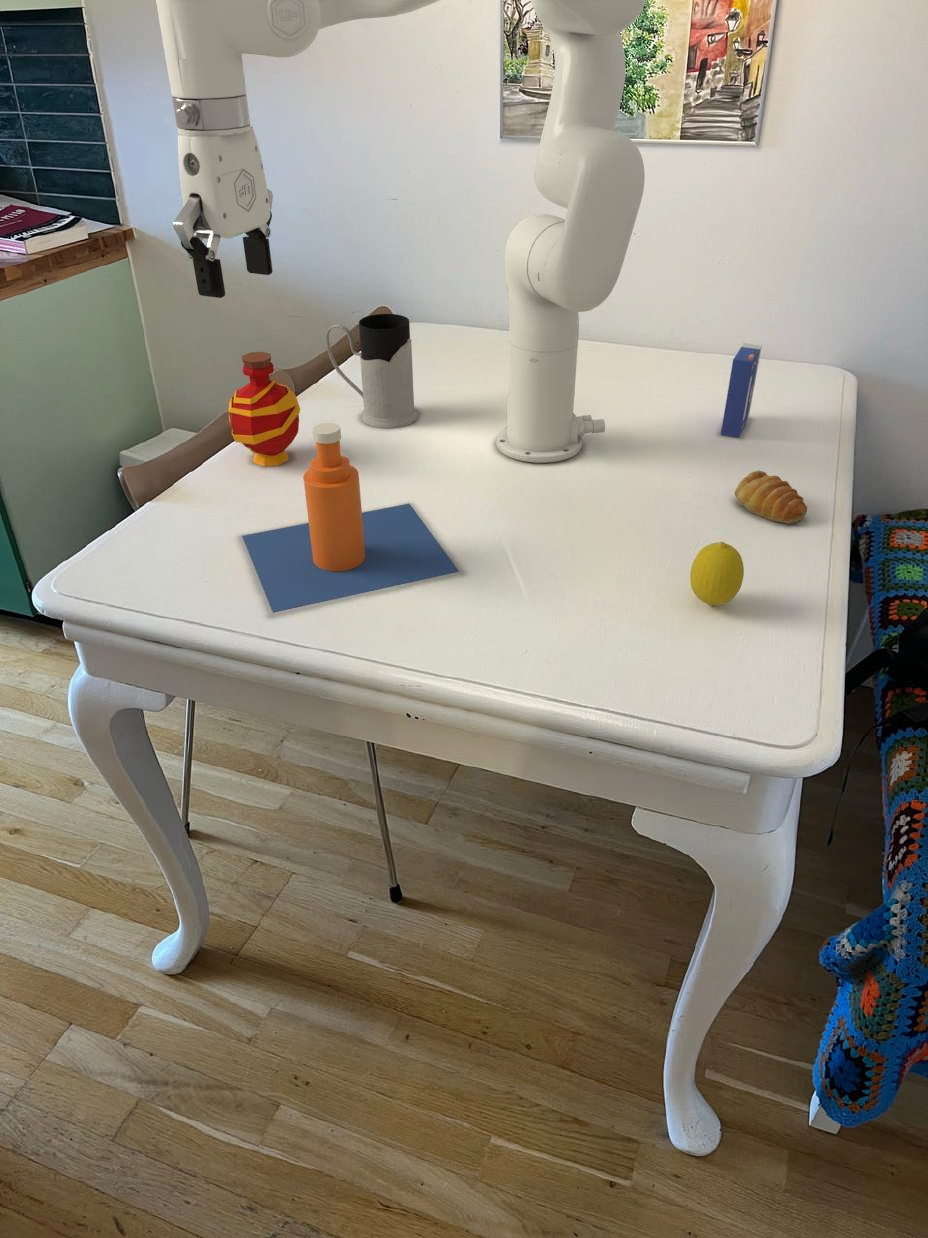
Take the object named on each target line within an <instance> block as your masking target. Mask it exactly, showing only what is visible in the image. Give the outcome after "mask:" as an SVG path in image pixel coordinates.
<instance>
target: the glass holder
mask: <svg viewBox="0 0 928 1238" xmlns="http://www.w3.org/2000/svg"><path fill="white" fill-rule="evenodd" d="M410 325H411V324H410V319H409V318H408V317H407V316H404V315H402V314H396V313H377V314H370V315H367V316H365V317H361V319H359V321H358V330H359V343H360V344H359V345H360V352H359V351H357V350H356V349H355V343H354V338H353V335H352V332H351V331H350V330H349V328H347V327H346V326H345V325H343V324H333V325H332V326H330V327H329V328H327V331H326V333H325V346H326V350H327V354H328V357H329V360H330V362H331V364H332V366H333V368H334V369H335V371H336V373H337V374H338V375H339V376H340V377H341V378H342V380H344V381H345V382H346V383H347V385H349V386H350V387H351V388H352V389H354V390H355V392H356V393H357V394H359V395H360V397H361V398H362V401H363V412H362V415H361V420H362V422H363V423H364V424H366V425H367V426H370V427H373V428H380V429H395V428H402V427H405V426H408V425H411V424H413V423H414V422H415V421H417V419H418V413H417V411H416V408H415V396H414V395H415V394H414V371H413V349H412V347H413V346H412V339H411V327H410ZM334 328H339V329H341V330H343V331H344V333H346V335H347V337H348V339H349V345H350V351H351V352H352V354H353V355H354V356H358V357H359V359H360V373H361V386H362V389H360V388H359V387H358V386H357V385H356V384H355V383H354V382H353V381H351V380H350V378H349V377H348V376H347V375H346V374H345V373H344V372H343V371H342V370H341V368H340V367H339V365H338V363H337V362H336V359H335V358H334V355H333V352H332V350H331V349H332V348H331V344H330V343H331V342H330V332H331V331H332V329H334Z"/></svg>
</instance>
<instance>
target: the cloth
mask: <svg viewBox="0 0 928 1238" xmlns="http://www.w3.org/2000/svg"><path fill="white" fill-rule="evenodd" d="M362 521H363V533H364V546H365V559H364V561H363V563H362V564H360V565H359V566H357V567H356V568H353V569H350V570H347V571H339V572H333V571H326V570H323V569H321V568H319V567H317V566H316V565H315V563H314V561H313V554H312V546H311V537H310V529H309V522H307V523H301V524H296V525H291V526H286V527H280V528H275V529H269V530H264V531H260V532H253V533H249V534H245V535H241V538H242V540H243V542H244V545H245V547H246V550H247V553H248V555H249V557H250V560H251V562H252V565H253V567H254V570H255V572H256V575H257V577H258V579H259V583H260V584H261V586H262V590H263V592H264V594H265V597H266V599H267V602H268V605H269V607H270V609H271V613H278V612H283V611H287V610H292V609H297V608H300V607H305V606H306V607H307V606H311V605H315V604H318V603H319V604H320V603H324V602H328V601H332V600H338V599H343V598H347V597H351V596H355V595H359V594H365V593H368V592H374V591H378V590H383V589H386V588H391V587H396V586H401V585H406V584H409V583H414V582H419V581H424V580H427V579H432V578H437V577H442V576H446V575H450V574H454V573H455V574H456V573H460V570H459V569H458V567H457V566H456V565H455V563H454V562H453V561H452V559H451V558H450V556H449V555H448V554H447V552H446V551H445V550H444V549H443V547H442V546H441V545H440V543H439V542H438V540H437V539H436V538H435V536H434V535H433V534H432V532H431V531H430V530H429V528H428V527H427V525H426V524H425V523H424V522H423V520H422V519H421V518H420V516H419V514H418V513H417V512H416V511H415V509H414V508H413V507H412V505H411V504H410V503H405V504H404V503H403V504H399V505H394V506H388V507H384V508H380V509H374V510H369V511H364V512H363V511H362Z"/></svg>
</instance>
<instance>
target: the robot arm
mask: <svg viewBox="0 0 928 1238" xmlns="http://www.w3.org/2000/svg"><path fill="white" fill-rule="evenodd" d="M439 1H441V0H155V3H156V4H155V5H156V11H157V15H158V21H159V28H160V34H161V40H162V45H163V46H162V47H163V53H164V57H165V63H166V70H167V75H168V81H169V89H170V93H171V98H172V105H173V110H174V111H173V112H174V117H175V123H176V124H175V125H176V129H177V160H178V173H179V182H180V191H181V199H182V209H181V210H180V211H179V213H178V214H177V216H176V218H175V219H174V221H173V222H172V227H173V229H174V231H175V233H176V235H177V237H178V239H179V240H180V245H181V248H183V249H184V250H185V251H186V253H187V257H188V258H189V259H190V260H192V264H193V270H194V275H195V281H196V282H195V283H196V288H197V293H198V294H199V296H202V297H207V298H208V297H210V298H217V299H222V298H224V297H226V288H225V283H224V275H223V269H222V262H221V259H220V258H217V253H218V250H219V245H220V241H221V238H223V239H233V238H235V237H239V236H241V235H244V234H245V236H243V237H242V243H243V251H244V257H245V259H244V260H245V266H246V271H247V273H249V274H253V275H263V276H270V275H272V274H273V262H272V256H271V255H272V254H271V249H270V239H269V238H270V237H271V234H272V231H271V227H270V225H271V221H272V218H273V214H272V207H273V198H274V195H273V192H272V190H270V189H268V186H267V180H266V175H265V170H264V169H265V168H264V164H263V160H262V155H261V150H260V146H259V142H258V139H257V136H256V133H255V130H254V127H253V126H251V119H250V111H249V110H250V109H249V103H248V102H249V101H248V95H247V87H246V86H247V85H246V79H245V70H244V63H243V55H256V56H264V57H265V56H266V57H273V58H290V57H291V58H292V57H295V56H298V55H300V54H302V53H303V52H304V51H306V50H307V49H309V48H310V47H311V45H312V44H313V43H314V41H315V40H316V38H317V35H318V33H319V31H320V30H322V29H325V28H328V27H332V26H335V25H338V24H343V23H347V22H351V21H356V20H363V19H379V18H391V17H396V16H398V15H404V14H408V13H412V12H414V11H417V10H420V9H422V8H425V7H427V6H431V5H432V4H434V3H437V2H439ZM646 2H647V1H646V0H530V3H531V5H532V8H533V10H534V12H535V14H536V17H537V18H538V19H539V21H540V23H541V24H542V25H543V28H544V30H545V31H546V34H547V36H548V38H549V41H550V43H551V47H552V52H553V57H554V76H553V83H552V87H551V88H552V89H551V94H550V99H549V103H548V107H547V112H546V116H545V119H544V124H543V128H542V133H541V137H540V140H539V145H538V148H537V153H536V156H535V157H536V158H535V162H534V170H533V171H534V172H533V176H534V184H535V187H536V189H537V190H538V192H539V194H540V195H541V196H542V197H543V198H544V199H546V200H547V201H549V202H551V203H552V204H555V205H557V206H560V207H561V208H565V209H567V210H566V214H565V218H562V217H559V216H557V215H552V214H545V213H544V214H543V213H542V214H540V213H539V214H533V215H530V216H527V217H526V218H524V219H522V220H521V221H520V222H518V223H517V224H516V225H515V227H514V228H513V229H512V231H511V232H510V234H509V236H508V238H507V241H506V245H505V249H504V258H503V259H504V264H503V265H504V275H505V281H506V289H507V296H508V297H507V298H508V311H509V312H508V313H509V318H508V319H509V321H508V323H509V332H508V333H509V335H508V368H507V371H508V372H507V416H506V426H505V427H504V428H502V429H500V431H498V433H497V435H496V437H495V438H496V439H495V440H496V441H495V444H496V447H497V450H499V452H501V454H503V455H504V456H507V457H508V458H510V459H514V460H517V461H521V462H525V463H537V464H547V463H548V464H549V463H557V462H561V461H565V460H568V459H570V458H572V457H574V456H576V455H577V454H578V453H579V452H580V451H581V449H582V448H583V437H584V436H585V434H590V433H591V434H602V433H605V431H606V422H605V419H603V418H601V419H593V417H592V415H591V414H586V415H579V416H578V415H576V414H575V413H574V411H575V410H574V409H575V408H574V407H575V395H576V392H575V391H576V378H577V363H578V350H579V349H578V348H579V347H578V346H579V336H580V315H579V313H584V312H588V311H592V310H594V309H596V308H598V307H599V306H600V305H602V304H603V303H604V302H605V301H606V300H607V298H608V297H609V296H610V294H612V292H613V290H614V288H615V286H616V283H617V282H618V279H619V277H620V274H621V271H622V268H623V265H624V261H625V259H626V254H627V251H628V247H629V244H630V241H631V237H632V235H633V230H634V227H635V224H636V220H637V217H638V214H639V210H640V207H641V203H642V199H643V195H644V189H645V182H646V181H645V179H646V177H645V165H644V159H643V156H642V154H641V151H640V149H639V148H638V146H637V144H636V143H635V142H634V141H633V140H632V139H631V138H630V137H628V136H626V135H625V134H623V133H621V132H618V131H615V130H616V124H617V121H618V116H619V112H620V107H621V102H622V98H623V93H624V88H625V83H626V82H625V81H626V56H625V48H624V44H623V41H622V37H621V32H623V31H625V30H627V28H629V27H630V26H631V25H632V24H633V23H634V22H636V20H637V19H638V17H639V16H640V15H641V13H642V11H643V9H644V6H645V3H646ZM203 239H204V240H205V239H206V240H207V243H206V244H205V243H204V242H203Z"/></svg>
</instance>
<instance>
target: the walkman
mask: <svg viewBox="0 0 928 1238" xmlns="http://www.w3.org/2000/svg"><path fill="white" fill-rule="evenodd" d="M761 351H762V345H760V344H754V343H748V342H743V344H741V346H740V348H739V350H738V352H737V353H736V354H735V356H734V357H733V359H732V364H731V369H730V370H731V371H730V375H729V382H728V388H727V393H726V394H727V395H726V400H725V407H724V413H723V419H722V424H721V431H720V435H721V436H727V437H732V438H738V439H739V438H740V437H741V434H742V433H743V431H744V429H745V427H746V426H747V424H748V421H749V418H750V413H751V408H752V407H751V406H752V402H753V397H754V389H755V385H756V380H757V374H758V368H759V363H760V358H761Z"/></svg>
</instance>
